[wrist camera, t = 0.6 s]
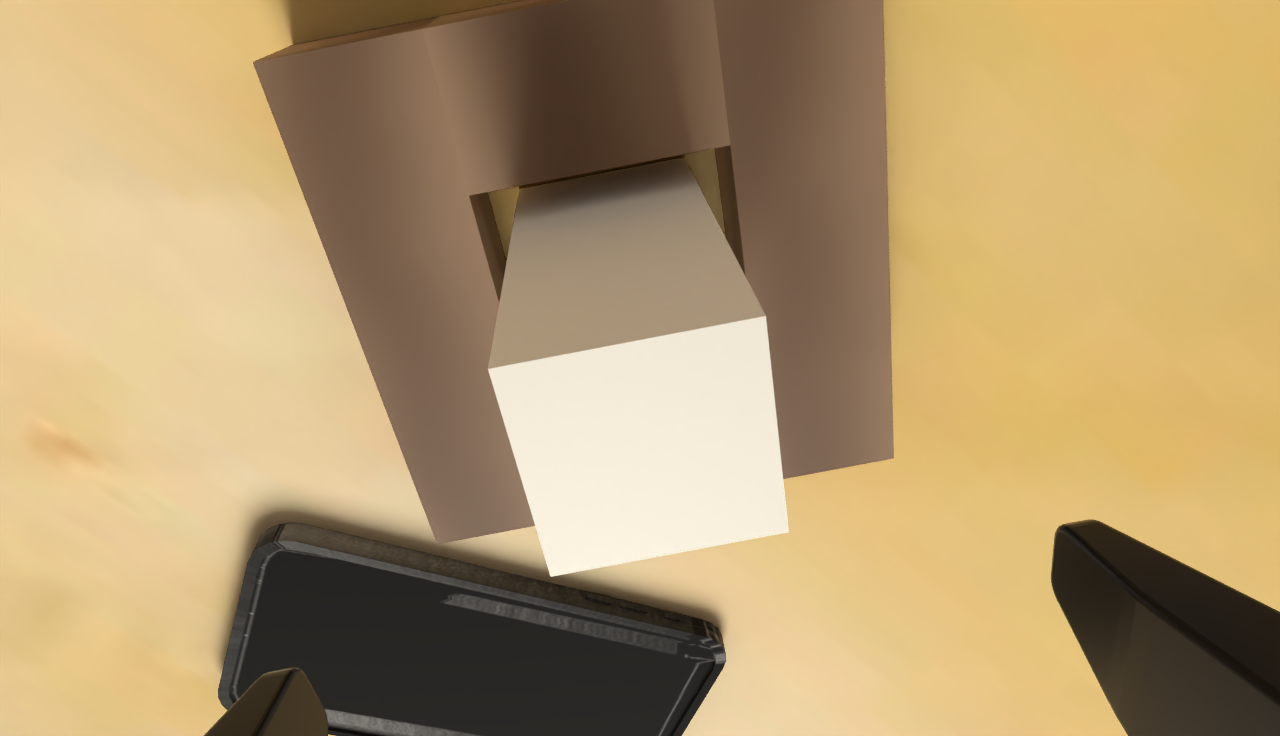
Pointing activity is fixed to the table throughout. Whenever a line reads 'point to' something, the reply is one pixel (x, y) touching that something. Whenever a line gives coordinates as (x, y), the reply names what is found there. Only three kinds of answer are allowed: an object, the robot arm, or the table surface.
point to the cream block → (634, 372)
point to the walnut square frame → (581, 143)
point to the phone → (459, 645)
